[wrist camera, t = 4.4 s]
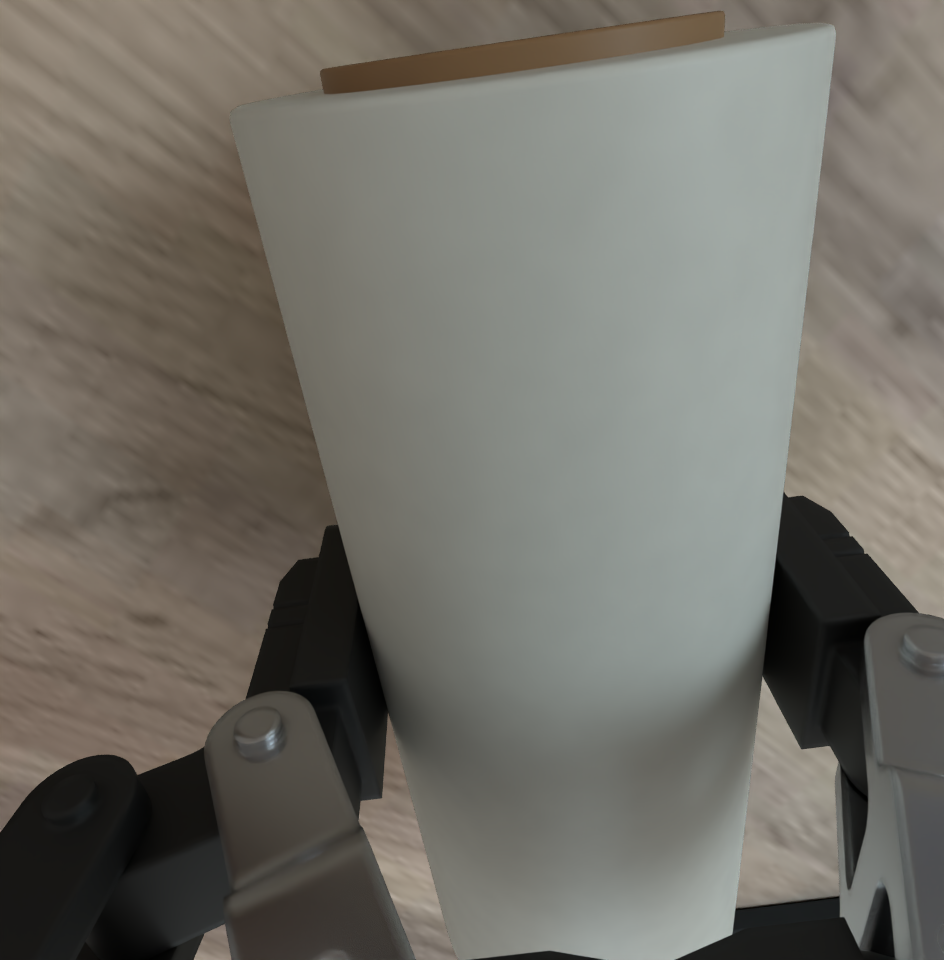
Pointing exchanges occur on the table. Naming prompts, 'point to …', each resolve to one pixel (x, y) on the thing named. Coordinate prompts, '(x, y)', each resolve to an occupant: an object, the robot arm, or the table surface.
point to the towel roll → (559, 441)
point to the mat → (786, 914)
